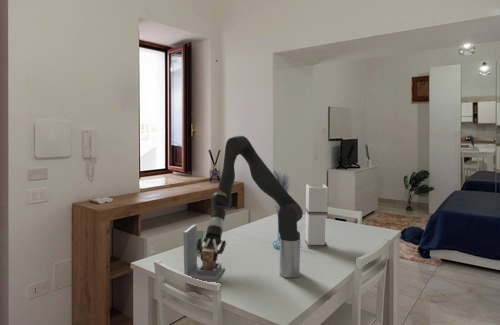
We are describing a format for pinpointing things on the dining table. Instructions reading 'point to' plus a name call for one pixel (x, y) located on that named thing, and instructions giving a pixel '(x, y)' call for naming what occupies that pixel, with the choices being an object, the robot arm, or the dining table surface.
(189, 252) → the grey socket stand
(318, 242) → the white square tower
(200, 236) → the food container
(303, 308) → the dining table surface
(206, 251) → the walnut block
